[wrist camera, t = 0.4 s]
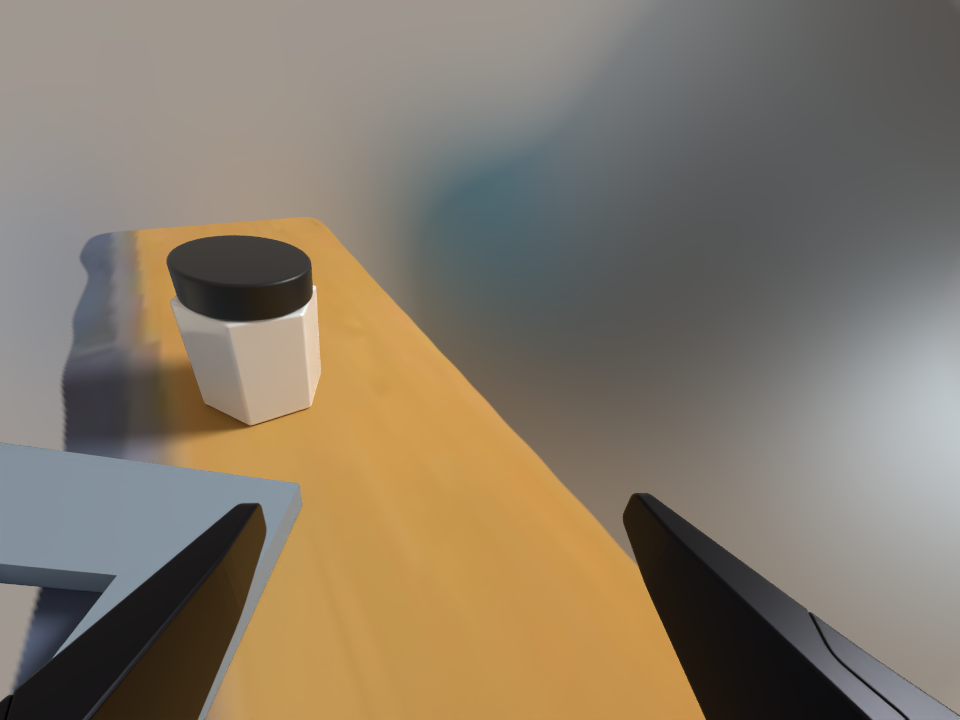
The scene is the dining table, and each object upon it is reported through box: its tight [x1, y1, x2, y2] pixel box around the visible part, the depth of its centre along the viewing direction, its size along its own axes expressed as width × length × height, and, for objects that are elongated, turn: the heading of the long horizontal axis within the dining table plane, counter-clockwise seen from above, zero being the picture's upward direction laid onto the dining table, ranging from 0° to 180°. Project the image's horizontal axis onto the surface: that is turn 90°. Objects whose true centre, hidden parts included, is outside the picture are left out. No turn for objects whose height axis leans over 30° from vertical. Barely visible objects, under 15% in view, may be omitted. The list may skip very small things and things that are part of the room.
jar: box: [167, 235, 321, 425], centre depth 27 cm, size 9×8×12 cm
